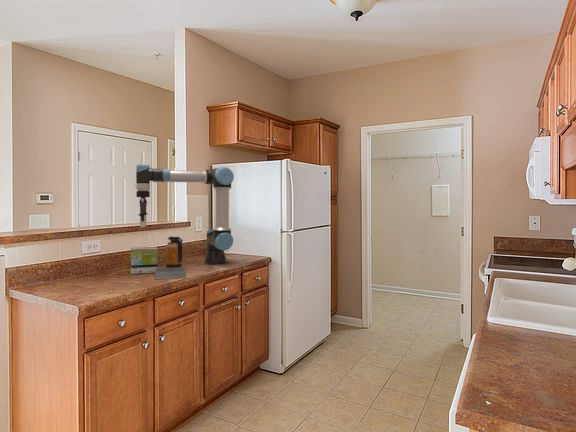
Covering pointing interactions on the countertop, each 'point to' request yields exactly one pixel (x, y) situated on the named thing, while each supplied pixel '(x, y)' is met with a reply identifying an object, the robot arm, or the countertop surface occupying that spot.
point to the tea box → (144, 260)
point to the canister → (174, 252)
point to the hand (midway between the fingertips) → (143, 226)
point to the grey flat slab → (170, 273)
